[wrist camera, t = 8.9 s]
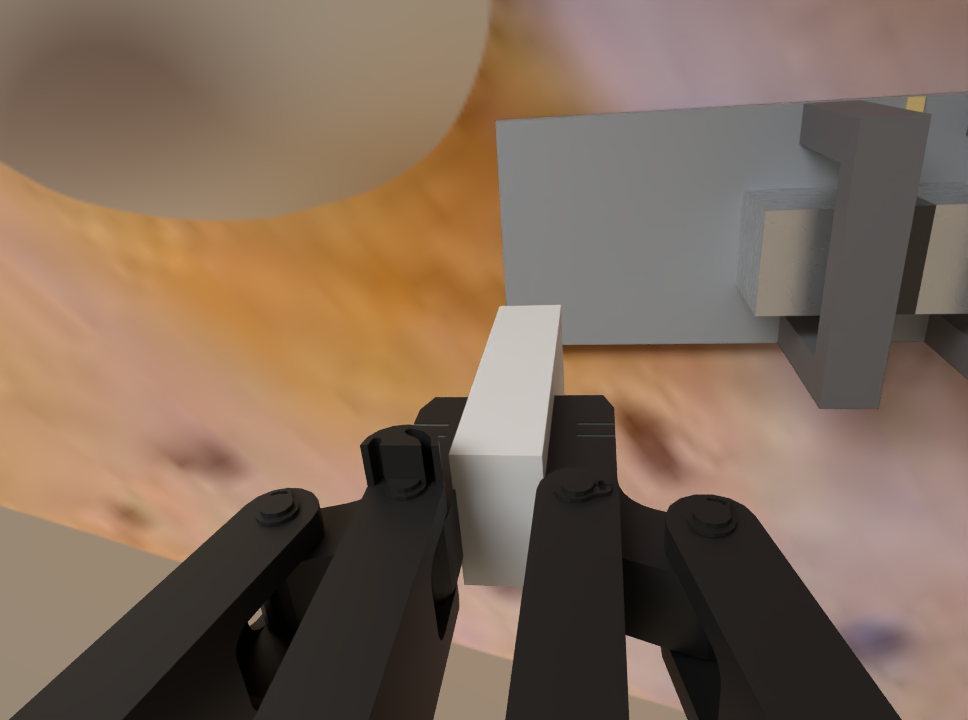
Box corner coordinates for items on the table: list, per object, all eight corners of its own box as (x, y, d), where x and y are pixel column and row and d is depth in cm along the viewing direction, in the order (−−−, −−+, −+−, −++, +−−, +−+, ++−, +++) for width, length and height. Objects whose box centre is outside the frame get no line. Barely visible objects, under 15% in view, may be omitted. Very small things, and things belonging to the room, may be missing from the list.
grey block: (735, 283, 30) (755, 316, 26) (743, 190, 28) (765, 211, 25) (989, 278, 28) (1048, 312, 25) (1013, 179, 27) (1079, 200, 23)
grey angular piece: (497, 119, 29) (472, 139, 23) (1080, 84, 26) (1239, 96, 20) (510, 338, 33) (491, 407, 27) (1016, 333, 30) (1130, 409, 24)
